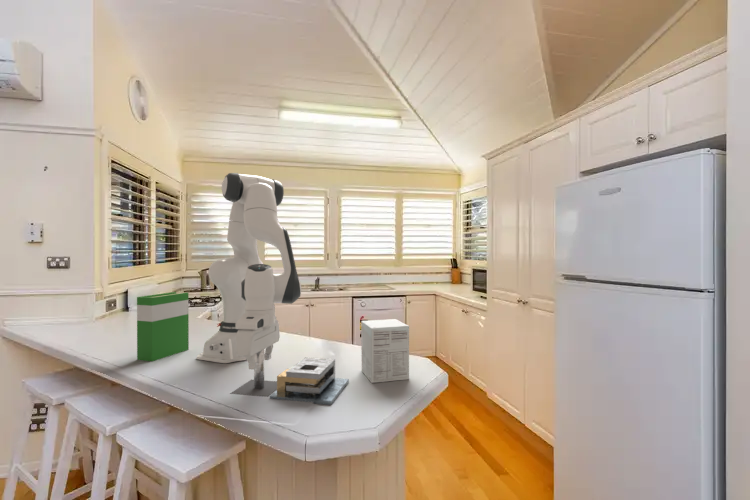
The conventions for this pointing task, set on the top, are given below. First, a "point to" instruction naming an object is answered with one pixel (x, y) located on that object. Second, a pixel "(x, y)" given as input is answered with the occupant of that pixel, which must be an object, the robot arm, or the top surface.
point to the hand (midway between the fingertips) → (260, 363)
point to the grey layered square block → (310, 382)
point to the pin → (259, 370)
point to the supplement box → (385, 350)
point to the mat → (249, 389)
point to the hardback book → (162, 325)
